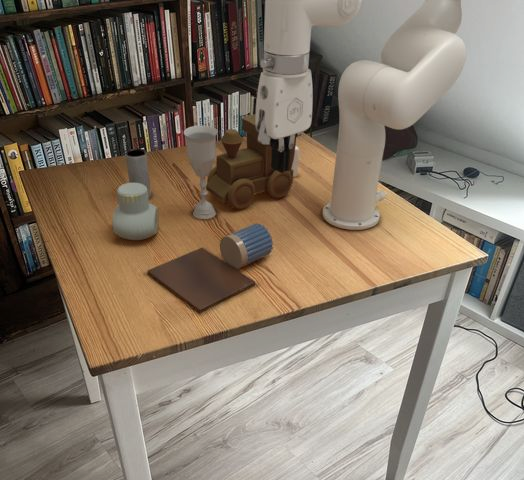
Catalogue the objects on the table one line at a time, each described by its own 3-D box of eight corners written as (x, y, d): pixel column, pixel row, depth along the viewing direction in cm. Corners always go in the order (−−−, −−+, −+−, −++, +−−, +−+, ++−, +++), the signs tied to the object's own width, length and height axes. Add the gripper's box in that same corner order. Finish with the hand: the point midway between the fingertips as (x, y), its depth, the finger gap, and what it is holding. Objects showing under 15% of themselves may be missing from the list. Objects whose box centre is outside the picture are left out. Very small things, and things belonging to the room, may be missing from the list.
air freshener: (122, 220, 122) (115, 176, 115) (160, 220, 122) (156, 176, 115) (113, 246, 113) (105, 200, 107) (154, 247, 114) (149, 201, 107)
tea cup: (248, 243, 115) (252, 216, 110) (270, 261, 112) (275, 234, 107) (218, 257, 110) (220, 229, 105) (239, 276, 107) (243, 248, 103)
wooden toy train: (272, 177, 140) (275, 107, 129) (300, 194, 133) (305, 123, 122) (202, 195, 131) (198, 123, 120) (227, 215, 124) (226, 140, 113)
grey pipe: (153, 198, 129) (148, 155, 123) (133, 201, 128) (127, 157, 121) (148, 190, 133) (143, 147, 126) (129, 193, 131) (123, 149, 124)
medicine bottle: (262, 168, 144) (263, 120, 136) (288, 165, 145) (291, 117, 138) (270, 179, 139) (272, 130, 131) (297, 176, 140) (301, 128, 132)
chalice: (214, 223, 122) (212, 140, 110) (184, 219, 123) (178, 136, 111) (223, 207, 127) (221, 127, 115) (194, 204, 128) (189, 123, 116)
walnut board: (202, 250, 113) (202, 247, 113) (255, 285, 104) (255, 281, 104) (147, 274, 106) (147, 270, 106) (199, 313, 98) (199, 309, 97)
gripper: (268, 75, 87) (264, 187, 99) (333, 60, 95) (321, 166, 107) (236, 64, 91) (236, 173, 103) (301, 51, 99) (293, 153, 111)
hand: (279, 169), depth 105 cm, fingers closed
